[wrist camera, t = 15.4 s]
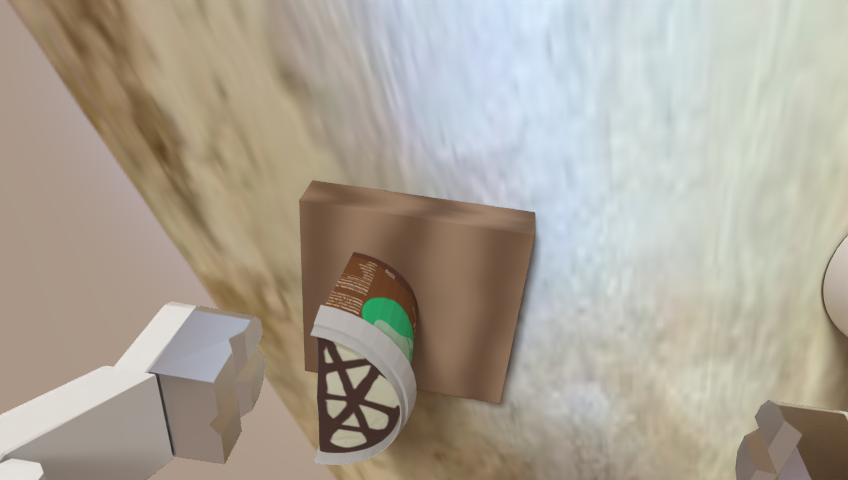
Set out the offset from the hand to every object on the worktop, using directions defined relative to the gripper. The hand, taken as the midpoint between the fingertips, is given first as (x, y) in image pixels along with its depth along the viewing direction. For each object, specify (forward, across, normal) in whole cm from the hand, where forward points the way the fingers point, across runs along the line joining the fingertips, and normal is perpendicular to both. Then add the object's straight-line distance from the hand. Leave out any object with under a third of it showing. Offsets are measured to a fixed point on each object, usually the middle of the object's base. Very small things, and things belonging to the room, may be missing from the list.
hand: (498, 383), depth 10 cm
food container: (+28, +6, +22) cm, 36 cm away
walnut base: (+31, +5, +22) cm, 38 cm away
